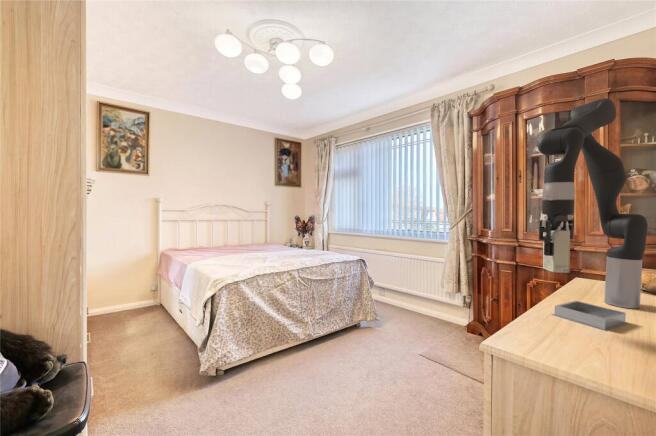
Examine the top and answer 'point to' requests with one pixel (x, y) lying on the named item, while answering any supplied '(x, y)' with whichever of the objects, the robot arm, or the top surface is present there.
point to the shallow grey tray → (608, 320)
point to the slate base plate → (596, 327)
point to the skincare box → (559, 254)
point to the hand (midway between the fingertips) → (555, 254)
